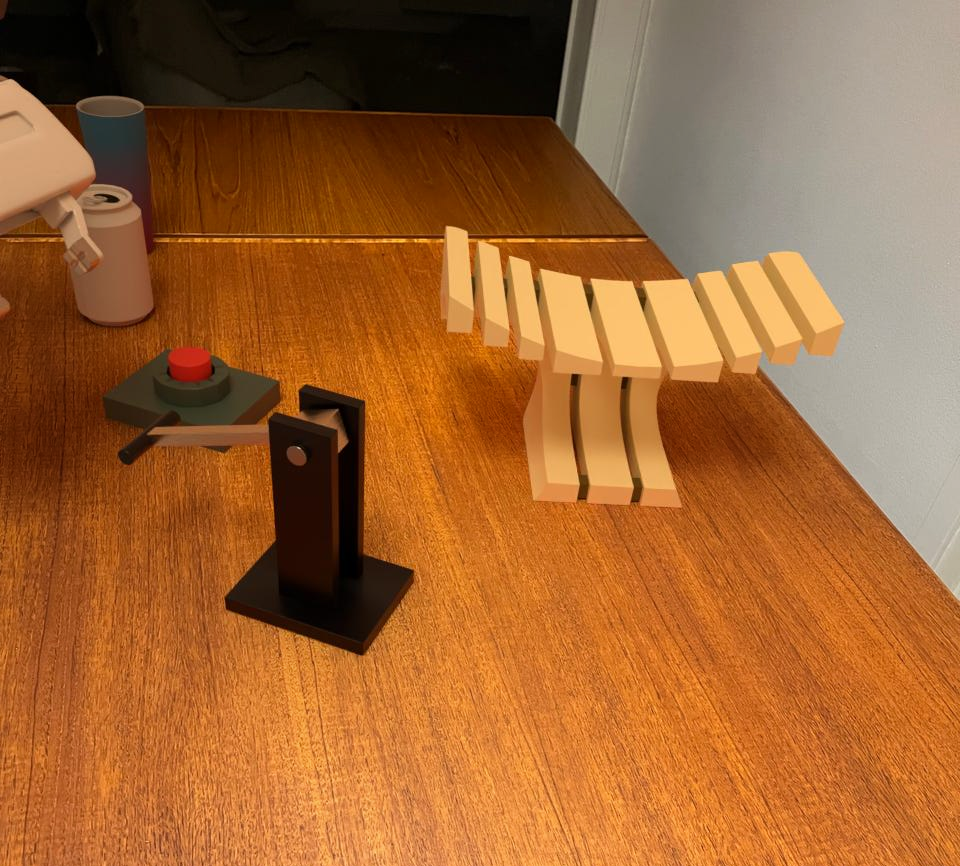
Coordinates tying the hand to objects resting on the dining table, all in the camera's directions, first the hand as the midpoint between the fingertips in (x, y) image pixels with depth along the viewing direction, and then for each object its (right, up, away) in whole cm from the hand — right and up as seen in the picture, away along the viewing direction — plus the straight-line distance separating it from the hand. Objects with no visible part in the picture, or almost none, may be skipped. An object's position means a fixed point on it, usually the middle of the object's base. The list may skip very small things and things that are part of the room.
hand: (48, 292), depth 66 cm
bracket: (+16, -19, +9) cm, 27 cm away
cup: (-12, +22, +50) cm, 56 cm away
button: (+2, +1, +24) cm, 24 cm away
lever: (+12, -10, +3) cm, 16 cm away
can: (-9, +11, +38) cm, 41 cm away
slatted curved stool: (+39, -6, +27) cm, 48 cm away
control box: (+2, -2, +26) cm, 26 cm away
